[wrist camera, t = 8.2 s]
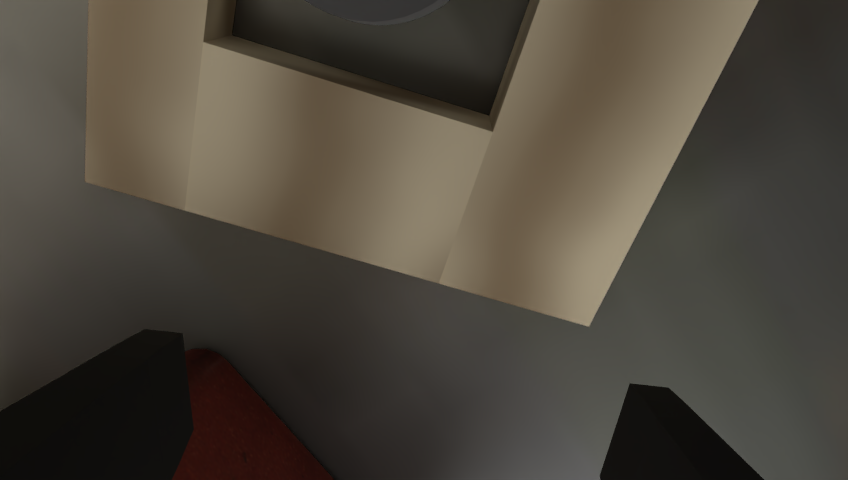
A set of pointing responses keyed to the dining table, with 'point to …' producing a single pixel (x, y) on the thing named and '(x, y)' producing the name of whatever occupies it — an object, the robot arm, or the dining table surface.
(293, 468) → the plant pot
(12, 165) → the dining table surface
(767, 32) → the dining table surface
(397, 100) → the wooden picture frame
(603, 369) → the dining table surface
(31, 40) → the dining table surface
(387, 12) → the grooved grey cylinder
